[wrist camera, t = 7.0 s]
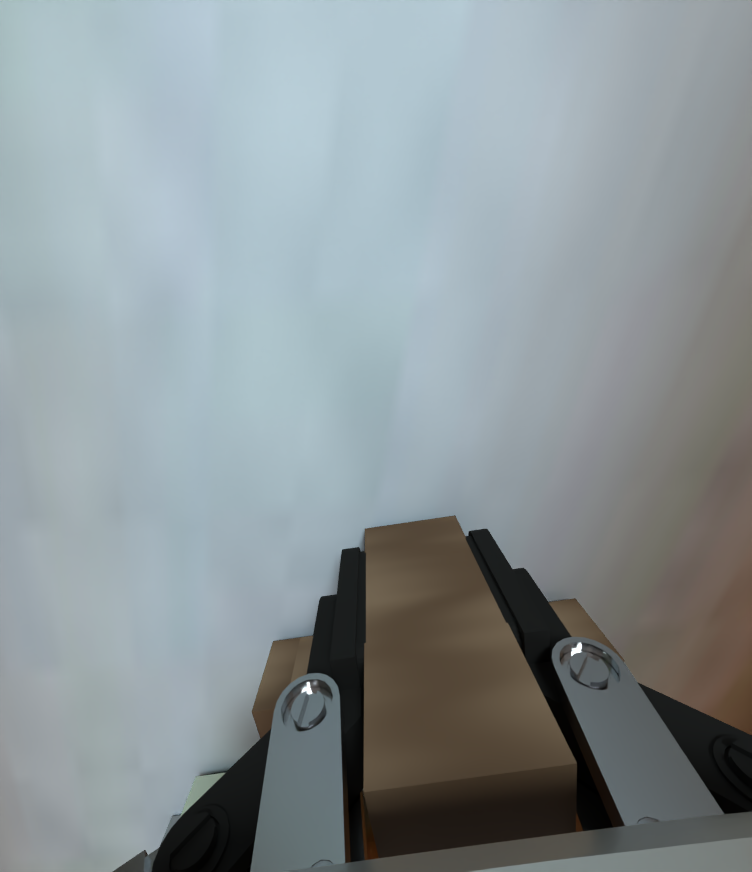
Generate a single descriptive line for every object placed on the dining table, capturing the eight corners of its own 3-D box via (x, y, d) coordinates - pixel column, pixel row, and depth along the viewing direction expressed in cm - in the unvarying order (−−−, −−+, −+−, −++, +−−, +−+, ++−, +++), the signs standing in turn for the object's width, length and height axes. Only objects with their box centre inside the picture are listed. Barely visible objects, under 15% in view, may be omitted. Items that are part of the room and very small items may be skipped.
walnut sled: (576, 497, 12) (868, 724, 5) (572, 857, 17) (709, 1206, 10) (245, 546, 12) (84, 829, 5) (343, 888, 17) (329, 1250, 10)
